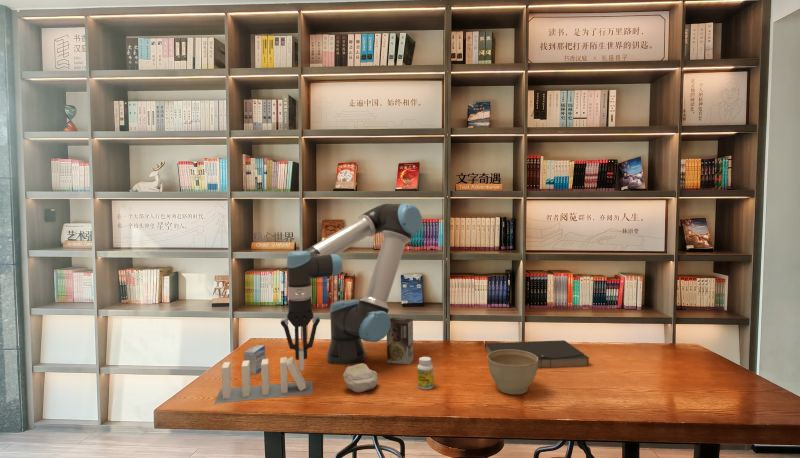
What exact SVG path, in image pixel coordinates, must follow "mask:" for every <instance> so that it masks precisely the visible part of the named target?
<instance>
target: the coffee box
mask: <svg viewBox="0 0 800 458" xmlns="http://www.w3.org/2000/svg"><path fill="white" fill-rule="evenodd" d="M390 321H391V326H390V329H389V332H388V333H387V335H386V357H387V358H386V363H387V364H400V365H408V366H409V365H410V364H412V362H413V361H414V357H415V356H414V326H413V325H414V324H413V323H414V322H413V321H414V320H413V318H403V317H402V318H400V317H399V318H398V317H390Z"/></svg>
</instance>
